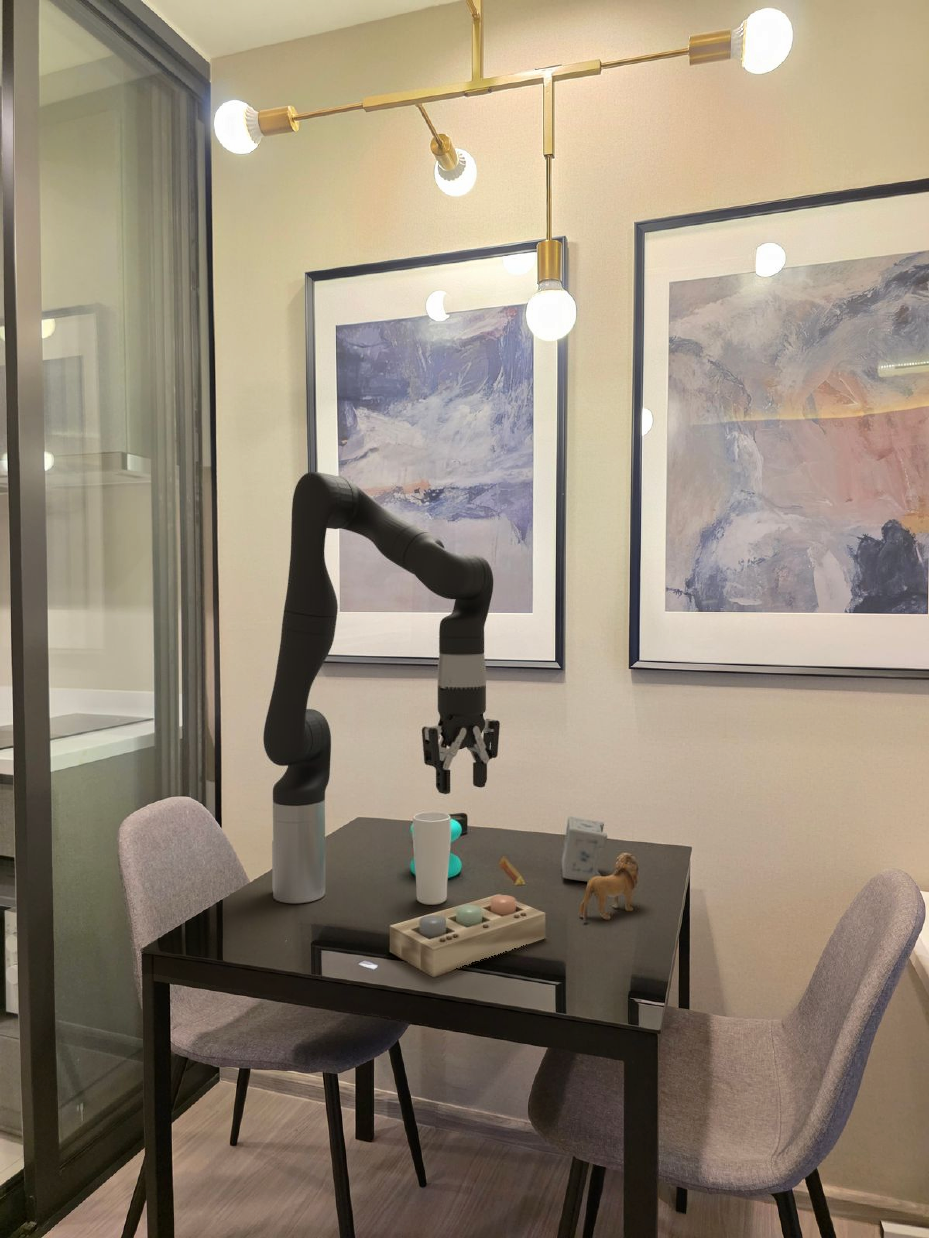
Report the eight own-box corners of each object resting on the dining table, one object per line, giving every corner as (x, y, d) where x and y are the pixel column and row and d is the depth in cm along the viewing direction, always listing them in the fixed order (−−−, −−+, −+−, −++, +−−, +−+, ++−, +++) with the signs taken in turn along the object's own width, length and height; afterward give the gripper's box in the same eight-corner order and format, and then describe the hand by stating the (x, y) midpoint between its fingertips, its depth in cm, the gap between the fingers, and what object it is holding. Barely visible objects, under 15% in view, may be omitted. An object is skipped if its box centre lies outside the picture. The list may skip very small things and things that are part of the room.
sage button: (450, 927, 132) (450, 908, 132) (470, 921, 134) (470, 902, 134) (467, 935, 129) (467, 916, 129) (487, 929, 131) (487, 910, 131)
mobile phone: (462, 810, 196) (407, 818, 187) (470, 812, 193) (415, 821, 184) (462, 832, 196) (407, 841, 187) (470, 834, 193) (415, 844, 184)
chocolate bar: (513, 887, 159) (513, 875, 159) (497, 867, 171) (497, 856, 171) (526, 886, 160) (527, 874, 159) (509, 866, 171) (509, 855, 171)
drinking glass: (417, 909, 147) (417, 822, 146) (409, 895, 153) (409, 812, 153) (455, 905, 148) (455, 819, 148) (445, 892, 155) (445, 810, 154)
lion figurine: (619, 897, 152) (620, 847, 152) (645, 905, 149) (646, 854, 149) (571, 920, 142) (571, 866, 141) (598, 928, 138) (598, 873, 138)
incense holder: (607, 885, 159) (607, 830, 159) (562, 884, 160) (562, 829, 159) (603, 868, 169) (603, 816, 168) (561, 867, 169) (561, 815, 169)
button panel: (389, 951, 129) (389, 924, 129) (499, 917, 143) (499, 892, 143) (433, 977, 120) (433, 947, 120) (545, 938, 134) (545, 911, 134)
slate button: (414, 939, 127) (414, 919, 127) (435, 932, 130) (435, 913, 130) (430, 947, 124) (430, 927, 124) (451, 940, 127) (451, 921, 127)
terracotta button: (485, 917, 136) (485, 898, 136) (504, 911, 139) (504, 893, 139) (502, 924, 133) (502, 905, 133) (520, 918, 136) (520, 900, 136)
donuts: (406, 828, 161) (414, 814, 171) (406, 880, 161) (414, 864, 171) (458, 829, 160) (464, 816, 170) (458, 882, 160) (463, 865, 170)
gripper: (481, 678, 140) (481, 779, 140) (409, 683, 130) (410, 792, 131) (512, 681, 134) (512, 787, 134) (439, 687, 125) (439, 801, 125)
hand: (461, 789), depth 133 cm, fingers open, 6 cm apart
